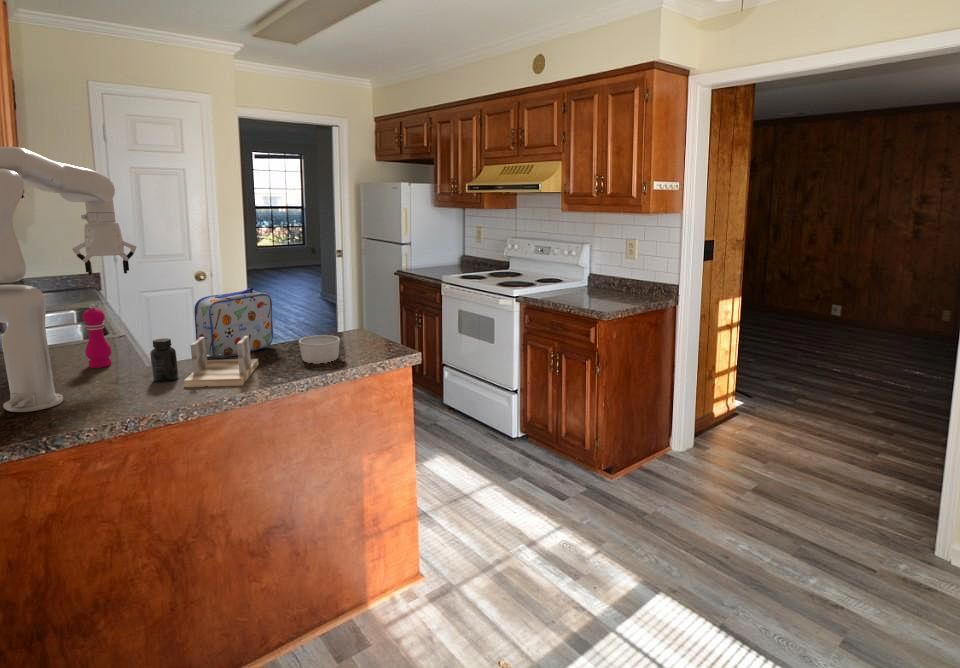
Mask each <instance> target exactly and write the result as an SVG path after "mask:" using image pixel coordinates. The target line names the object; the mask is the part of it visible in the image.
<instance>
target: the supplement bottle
mask: <svg viewBox="0 0 960 668" xmlns="http://www.w3.org/2000/svg"><path fill="white" fill-rule="evenodd" d="M152 348H153V349H152V350H151V351H150V354H149V355H150V362H151V363H150V365H151V372H152V379H153V381H154V382H156V381H159V382H158V383H163V381H167V382H172V381H175V380H178V378H179V370H178V360H177V351H176V349H175V348H174V347H172V339H170V338H166V337H165V338H157V339H153V340H152ZM171 380H172V381H171Z"/></svg>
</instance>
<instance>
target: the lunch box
mask: <svg viewBox="0 0 960 668" xmlns="http://www.w3.org/2000/svg"><path fill="white" fill-rule="evenodd" d="M272 300H273V299H272V297H271V295H270V294H268V293H266V292H259V291H256V290H254V287H247V288H246V289H244V290H241V291H236V292H229V293H221V294H216V295H208V296H204V297H201V298H200V299H198V300H197V302H195V305H194V312H193V313H194V326H195V341H196V340H197V339H199V338H200V337H205V343H206V354H207V356H211V357H213V358H215V359H216V358H218V359H225V358H229V357H230V358H231V357H235V356H238V351H237V343H238V342H239V341H240V340H241V339H242V338H243V337H244V336H249V344H250V353H251V352H254V351H258V350H262V349H265V348H266V347H265V346H268V347H269V346H271V345H272V344H273V343H272V342H273V339H274V326H273V325H274V324H273V322H274V321H273V301H272ZM261 347H262V348H261ZM255 348H256V349H255ZM219 354H221V355H219Z"/></svg>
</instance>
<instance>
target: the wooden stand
mask: <svg viewBox="0 0 960 668" xmlns="http://www.w3.org/2000/svg"><path fill="white" fill-rule="evenodd" d="M237 351H238V355H237V358H236V359H235V358H234V359H209V360H208V355H207V354H206V343H205V337H200V338H199V339H197V340H196V339H195V341H194V342H192V343H191V344H190V354H191V361H192V362H191V363H192V372H191V373H190V375H188V376H187V377H186V378H185V379H184V380H183V384H184V388H205V386H208V387H232V386H233V387H235V386H236V387H237V386H244V385H245V383H246V381H247V380H248V379H249V378H250V376H251V375H252V374H253V372H254V371H255V370H256V369H257V368H258V366H259V364H260V363H259V358H252V356H251V352H250V344H249V336H244V337H243V338H242V339H241V340H240V341H239V342H238V343H237Z"/></svg>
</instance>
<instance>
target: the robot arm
mask: <svg viewBox="0 0 960 668" xmlns="http://www.w3.org/2000/svg"><path fill="white" fill-rule="evenodd" d="M25 185H27V186H30V187H32V188H35V189H38V190H40V191H42V192H46V193H47V192H48V193H54V194H59V195H60V196H61V197H62V198H63V199H64V200H65V201H68V202H71V203H84V204H85V214H81V216H80V217H81V220H85V221H86V222H87V223H84V226H83V227H84V229H83V231H84V235H83V236H84V242H82V243H80V244H78V245H76V246H74V247H72V251H73V253H74V254H75V256H76V257H77V258H78V259H80V260H81V261H82V262H83V263H84V267H85V273H88V276H92V275H93V268H92V262H91V261H90V259H91V258H92V257H104V256H105V257H107V256H108V257H110V256H119V257H120V258H122V259H123V260H122V267H123V274H125V275H126V274H128V271H130V263H129V260H130V259H131V258H132V257H133V256H134V253H135V252H136V249H137V245H134V244H132V243H130V242H127V241H124V240H123V235H122V232H121V227H120V224H119V222H117V221H116V213H115V207H114V197H115V193H116V192H115V191H116V190H115V189H116V188H115V185H114V183H113V182H112V181H111V179H110V178H108V177H107V176H106V175H105V174H102V173H100V172H98V171H96V170H92V169H89V168H84V167H79V166H75V165H71V164H68V163H64V162H58V161H55V160H52V159H50V158H47V157H45V156H42V155H41V154H38V153H36V152H33V151H31V150H28V149H26V148H23V147H18V146H0V324H1V323H3V324H7V326H6V329H5V330H4V332H3V334H2V337H1V348H2V352H3V358H4V364H5V365H4V366H5V370H6V375H7V381H8V387H9V396H10V397H9V398H10V399H9V400H7V401H6V402H4V403H3V404H2V407H3V408H4V410H6V411H7V412H11V413H28V412H34V411H41V410H45V409H49V408H52V407H55V406H58V405H60V404H62V402H64V395H62V394H60V393H56V389H55V381H54V377H53V369H52V362H51V357H50V349H49V343H48V337H47V329H46V313H47V312H46V311H47V300H46V296H45V294H44V293H43V292H42V291H41V290H40V289H39V288H38V287H35V286H31V285H28V284H27V285H25V284H6V283H15V282H19V281H21V280H23V278H24V277H25V276H26V273H27V266H26V262H25V259H24V256H23V253H22V250H21V247H20V244H19V242H18V241H19V240H18V238H17V235H16V232H15V228H14V225H13V219H14V215H15V211H16V209H17V206H18V204H19V202H20V201H21V199H22V197H23V194H24V192H25V191H24V190H25V189H24V188H25V187H24V186H25ZM124 247H126V248H128V249H130V251H129V252H128V253H127V254H126V253H125V252H124V251H125V248H124ZM83 248H85V253H86V255H84V254H82V253H81V251H80V250H81V249H83Z"/></svg>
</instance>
